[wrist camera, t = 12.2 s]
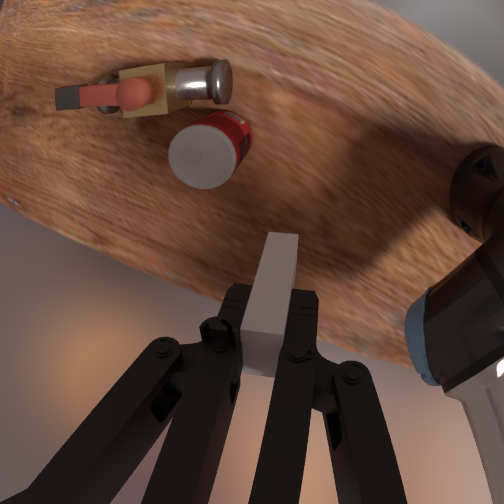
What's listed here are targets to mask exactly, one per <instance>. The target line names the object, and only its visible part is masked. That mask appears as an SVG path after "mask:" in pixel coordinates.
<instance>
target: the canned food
mask: <svg viewBox="0 0 504 504" xmlns="http://www.w3.org/2000/svg"><path fill="white" fill-rule="evenodd" d="M252 141H253V134H252V130H251V128H250V126H249V124H248V123H247V121H246V120H245V119H244V118H243V117H242V116H240V115H238V114H237V113H234V112H231V111H217V112H213V113H211V114H209V115H207V116H205V117H203V118H202V119H200V120H198V121H196V122H194V123H192V124H191V125H189V126H187V127H186V128H184V129H183V130H181V131H180V132H179V133H178V134H177V135H176V136H175V137H174V138H173V140H172V141H171V143H170V146H169V150H168V159H169V163H170V166H171V169H172V170H173V172H174V174H175V175H176V176H177V177H178V178H179V179H180V180H181V181H182V182H184V183H185V184H187V185H189V186H191V187H194V188H198V189H211V188H215V187H218V186H220V185H221V184H223V183H224V182H226V181H227V180H228V179H229V178H230V177H231V175H232V174H233V173H234V171H235V170H236V168H237V167H238V165H239V164H240V163H241V161H242V160H243V158H244V157H245V156H246V154H247V153H248V151H249V150H250V148H251V146H252Z"/></svg>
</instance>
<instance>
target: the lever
mask: <svg viewBox="0 0 504 504" xmlns="http://www.w3.org/2000/svg"><path fill="white" fill-rule="evenodd" d="M152 96H153V88H152V85H151V83H150V82H149V81H148V80H147V79H146V78H144V77H133V78H128V79H125V80H123V81H122V82H121V83H112V84H98V85H88V84H82V85H73V86H65V87H61V88H58V89H55V101H56V110H68V109H80V108H83V107H92V106H119V107H120V108H122V109H123V110H125V111H135V110H138V109H140V108H143V107H145V106H147V105H148V104H149V103H150V101H151V99H152Z"/></svg>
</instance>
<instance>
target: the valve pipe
mask: <svg viewBox="0 0 504 504" xmlns="http://www.w3.org/2000/svg"><path fill="white" fill-rule="evenodd" d="M133 77H144V78H146V79H147V80H148V81H149V82H150V83H151V85H152V88H153V96H152V99H151V101H150V103H149V104H148V105H147V106H145V107H143V108H140V109H138V110H135V111H125V110H123V117H124V118H130V117H139V116H150V115H162V114H169V113H171V112H174V111H176V110H178V109H181V108H183V107H186V106H188V105H191V104H192V100H195V99H213V101H214V102H215V104H217V105H218V104H228V103H229V102H230V99H231V95H232V87H233V78H232V70H231V66H230V63H229V61H228V60H226V59H225V60H215V61H214V62H213V64H212V66H208V67H195V68H190V61H184V62H171V63H162V64H155V65H148V66H142V67H137V68H131V69H126V70H121V71H119V78H118V77H117V76H116V75H113V74H111V75H106V76H103V77H101V78H100V79H99V80H98V81H97V83H96V85H98V84H112V83H121V82H122V81H123V80H125V79H128V78H133ZM97 108H98V110H99V111H100V112H101V113H103V114H111V113H115V112H117V111H118V110H119V109H120V107H119V106H97Z"/></svg>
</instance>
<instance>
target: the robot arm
mask: <svg viewBox="0 0 504 504" xmlns="http://www.w3.org/2000/svg"><path fill="white" fill-rule="evenodd" d="M450 205H451V209H452V213H453V215H454V217H455V219H456V221H457V222H458V224H459V225H460V227H461V228H462V229H463V231H464V232H465V233H466V234H468V235H469V236H470V237H472V238H474V239H475V240H477V241H479V242H481V243H483V244H482V245H481V246H480V247H479V248H478V249H477V250H476V251H475V252H473V253H472V254H471V255H470V256H469V257H467V258H466V259H465V260H464V261H463V262H462V263H461V264H459V265H458V266H457V267H456V268H455V269H454V270H452V271H451V272H450V273H449V274H448V275H446V276H445V277H444V278H443V279H442V280H440V281H439V282H438V283H436V284H435V285H434V286H431V287H429V288H428V289H427V290H426V292H425V293H424V294H423V295H422V296H421V297H420V298H419V299H417V300H416V301H415V302H414V303H413V304H412V305H411V306H410V307H409V309H408V311H407V314H406V320H405V324H404V330H405V339H406V344H407V348H408V351H409V355H410V358H411V360H412V363H413V365H414V367H415V369H416V371H417V372H418V373H419V374H421V378H422V380H423V381H424V382H425V383H427V384H428V385H431V386H440V385H441V386H442V388H443V391H444V393H445V395H446V396H448V397H451V398H454V399H457V400H459V401H460V402H461V403H462V406H463V408H464V411H465V413H466V416H467V419H468V421H469V424H470V427H471V430H472V433H473V436H474V438H475V442H476V445H477V448H478V451H479V454H480V458H481V461H482V464H483V468H484V471H485V474H486V478H487V481H488V486H489V490H490V493H491V497H492V502H493V504H504V148H501V147H496V146H489V147H484V148H481V149H478V150H476V151H474V152H473V153H471V154H470V155H469V156H468V157H467V158H466V159H465V160H464V161H463V162H462V163H461V165H460V166H459V168H458V169H457V171H456V173H455V175H454V178H453V181H452V185H451V190H450ZM298 235H299V234H289V233H278V232H269V233H268V236H267V239H266V243H265V246H264V250H263V253H262V257H261V260H260V263H259V267H258V270H257V274H256V277H255V280H254V284H253V285H246V284H237V283H234V284H233V285H232V286H231V287H230V288H229V289H228V290H227V292H226V295H225V298H224V300H223V303H222V306H221V308H220V311H219V314H218V316H217V317H211V318H208V319H207V320H205V321H204V322H203V323H202V324H201V325H200V327H199V328H200V333H201V338H202V341H200V342H198V343H193V344H183V345H180V344H179V343H178V341H177V340H175V339H173V338H170V337H160V338H157V339H155V340H153V341H152V342H151V343H150V344H149V345H148V346H147V347H146V348H145V350H144V351H143V352H142V353H141V354H140V356H138V358H137V359H136V360H135V361H134V362H133V364H132V365H131V366H130V367H129V368H128V369H127V370H126V372H125V373H124V374H123V375H122V376H121V377H120V379H119V380H118V381H117V382H116V383H115V384H114V386H113V387H112V388H111V389H110V390H109V391H108V393H107V394H106V395H105V396H104V397H103V398H102V400H101V401H100V402H99V403H98V404H97V406H96V407H95V408H94V409H93V410H92V411H91V413H90V414H89V415H88V416H87V418H86V419H85V420H84V421H83V422H82V423H81V424H80V426H79V427H78V428H77V429H76V431H75V432H74V433H73V434H72V435H71V436H70V438H69V439H68V440H67V441H66V443H65V444H64V445H63V446H62V447H61V449H60V450H59V451H58V452H57V453H56V454H55V456H54V457H53V458H52V459H51V461H50V462H49V463H48V464H47V465H46V467H45V468H44V469H43V470H42V472H41V473H40V474H39V475H38V476H37V478H36V479H35V480H34V481H33V482H32V484H31V485H30V486H29V487H28V489H26V490H24V491H22V492H20V493H18V494H16V495H14V496H12V497H10V498H8V499H6V500H4V501H2V502H0V504H110V502H111V501H112V500H113V499H114V497H115V496H116V495H117V493H118V492H119V491H120V489H121V488H122V486H123V485H124V484H125V482H126V481H127V480H128V478H129V477H130V476H131V474H132V473H133V472H134V470H135V469H136V468H137V466H138V465H139V463H140V462H141V461H142V459H143V458H144V457H145V455H146V454H147V453H148V451H149V450H150V448H151V447H152V446H153V444H154V443H155V442H156V440H157V439H158V437H159V436H160V435H161V433H162V432H163V430H164V429H165V427H166V426H167V425H168V423H169V422H170V420H171V419H172V418H173V419H172V422H171V424H170V427H169V430H168V432H167V435H166V438H165V440H164V443H163V446H162V448H161V451H160V454H159V457H158V459H157V462H156V464H155V467H154V470H153V473H152V475H151V478H150V481H149V483H148V486H147V489H146V492H145V494H144V497H143V500H142V502H141V504H208V502H209V498H210V495H211V491H212V487H213V484H214V480H215V477H216V473H217V470H218V466H219V463H220V459H221V455H222V452H223V448H224V444H225V441H226V437H227V433H228V430H229V426H230V422H231V419H232V415H233V411H234V407H235V403H236V400H237V395H238V392H239V388H240V376H241V372H242V368H243V373H245V374H252V375H259V376H266V377H274V378H275V380H274V385H273V391H272V396H271V401H270V406H269V411H268V416H267V421H266V426H265V431H264V436H263V440H262V445H261V449H260V454H259V459H258V464H257V468H256V472H255V477H254V481H253V485H252V490H251V494H250V498H249V502H248V504H299V498H300V491H301V485H302V479H303V471H304V465H305V458H306V450H307V443H308V435H309V426H310V418H311V409H312V408H313V409H315V410H318V411H320V412H322V414H323V419H324V424H325V429H326V434H327V440H328V445H329V451H330V456H331V462H332V467H333V473H334V479H335V485H336V491H337V496H338V502H339V504H407V500H406V496H405V492H404V487H403V483H402V479H401V475H400V472H399V468H398V464H397V460H396V456H395V453H394V449H393V446H392V442H391V438H390V435H389V432H388V429H387V425H386V421H385V418H384V415H383V412H382V408H381V405H380V402H379V399H378V395H377V392H376V389H375V386H374V383H373V380H372V377H371V374H370V372H369V370H368V368H367V367H366V366H365V365H363V364H362V363H360V362H357V361H345V362H342V363H341V364H336V363H333V362H331V361H329V360H327V359H325V358H324V357H322V356H321V355H320V353H319V352H318V350H317V347H316V338H317V323H318V305H319V299H318V297H317V295H316V293H315V291H310V290H299V289H294V283H295V275H296V262H297V249H298Z"/></svg>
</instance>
